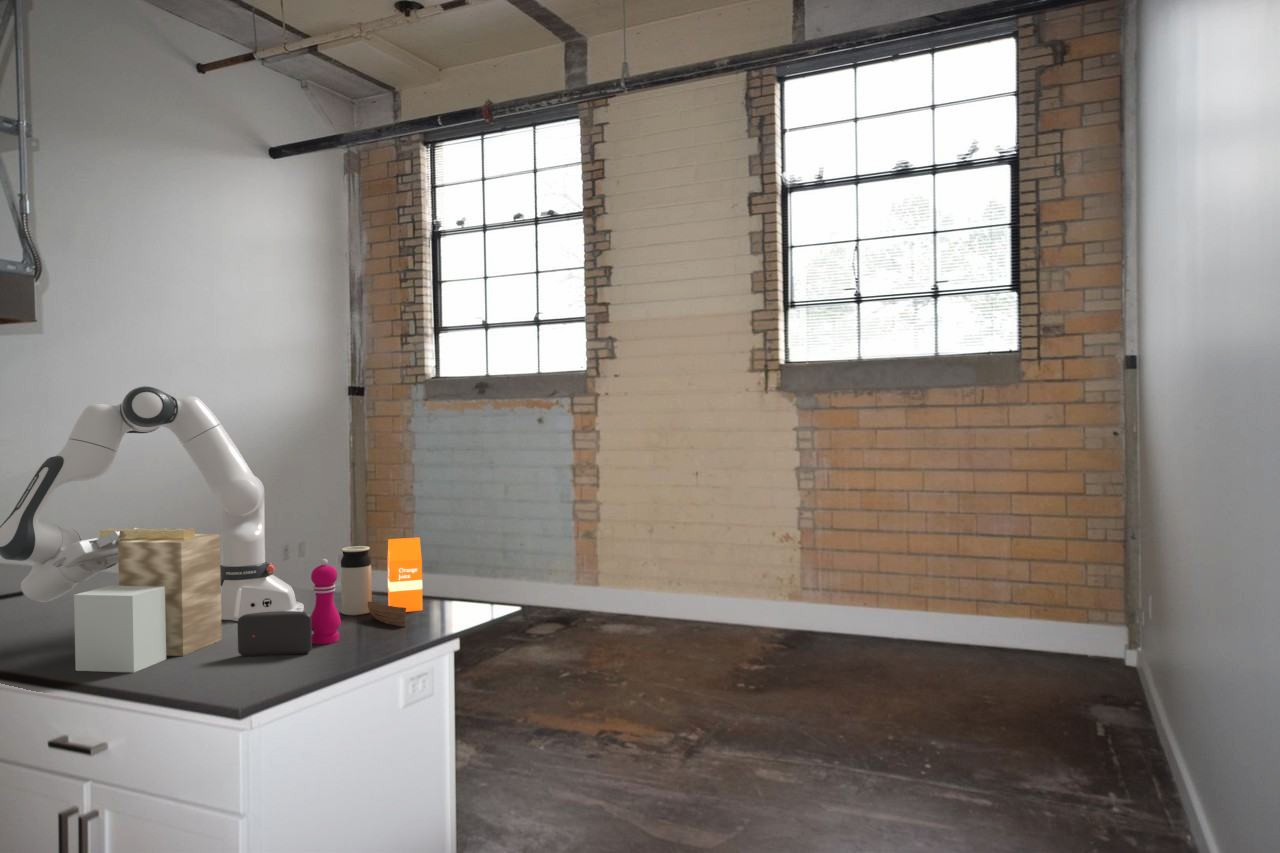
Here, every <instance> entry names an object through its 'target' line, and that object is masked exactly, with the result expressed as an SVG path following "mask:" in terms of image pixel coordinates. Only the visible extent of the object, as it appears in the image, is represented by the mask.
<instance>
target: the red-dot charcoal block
mask: <svg viewBox="0 0 1280 853" xmlns="http://www.w3.org/2000/svg"><path fill="white" fill-rule="evenodd" d="M236 622H237V653H238V654H240V655H241V656H243V657H260V656H261V657H262V656H287V655H306V654H308V653H310V652H311V651H312V649H313V643H312V634H313V631H312V625H311V615H310V614H309V613H308V612H307V611H306V612H304V611H303V612H298V611H275V612H261V613H252V614H246V615H243V616H241V617H240V618H239V619H238V621H236Z"/></svg>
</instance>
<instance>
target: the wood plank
mask: <svg viewBox="0 0 1280 853" xmlns="http://www.w3.org/2000/svg"><path fill="white" fill-rule="evenodd" d="M368 609H369V611H370V612H369V614H370V615H372V616H373V619H375V620H377V621H379V622H382V623H385V624H388V625H392V626H397V627H401V628H402V627H403V628H406V620H405V619H406V614H407V612H406V608H405V607H394V606H388V604H387V605H385V604H381V603H377V602H374V601H372V602H368Z"/></svg>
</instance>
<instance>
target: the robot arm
mask: <svg viewBox="0 0 1280 853" xmlns="http://www.w3.org/2000/svg"><path fill="white" fill-rule="evenodd" d="M161 427H163V428H166V429H168V430H169V431H171V432H172V433H173V434H174V435H175V436H176V438H177V439H178V441H179V442H180V444H181V445H182V447H183V448H184V451H186V452H187V455H188V456H189V457H190V459H191V460H192V462H193V463H194V465H195V466H196V467H197V469H198V470H199V473H200V474H201V476H202V477H203V479H204V481H205V483H206V484H207V486H208V488H209V489H210V490H211V492H212V494H213V496H214V497H215V499H216V500H217V502H218V504H219V505H220V507H221V520H220V524H221V526H220V578H221V620H223V621H235V622H238V619H239V618H240V617H241V616H243V615H246V614H252V613H261V612H275V611H298V612H304V611H305V606H304V603H303V602H299V601H297V600H296V595H295V594H296V593H295V592H294V588H292V586H291V585H290V584H288V583H287V582H285V581H283V580H282V579H280V578H279V577H277V576H276V575H274V571H275V566H274V565H273V564H272V562H267V561H266V544H265V541H266V539H265V536H266V534H265V533H266V532H265V529H266V528H265V523H266V522H265V520H266V519H265V510H266V508H265V506H266V505H265V487H264V484H263V482H262V481H261V480H260V478H258V477H257V476H256V475H254V473H253V471H252V469H250V467H249V465H248V464H247V462H246V461H245V459H244V457H243V456H242V454H241V452H240V451H239V449H238V447H237V446H236V444H235V443H234V441H233V439H232V438H231V437H230V435H229V434H228V432H227V431H226V429H225V428H224V426H223V425H222V424H221V422H220V420H219V419H218V418H217V416H216V414H214V413H213V411H212V410H211V409H210V407H208V406H207V405H206V403H204V401H202V399H201V398H199V397H197V396H193V395H185V396H182V397H179V398H176V397H174V396H172V395H171V394H168V393H166V392H164V391H163V390H161V389H159V388H156V387H152V386H145V385H144V386H139V387H135V388H134V389H131V390H130V391H129V392H128V393H127V394H126V395H125V396H124V397H123V399H122V402H121V403H120V404H119V403H118V404H117V405H110V404H106V403H93V404H92V403H91V404H90V405H87V407H85V408H84V410H83V411H82V412H81V414H80V415H79V417H78V418H77V420H76V422H75V424H74V425H73V428H72V430H71V431H70V434H69V436H68V439H67V441H66V443H65V444H64V446H63V447H62V449H61V450H60V451H59V452H58V453H57V454H56V455H55V456H50V457H48V458H47V459H46V460H45V461H43V462H42V464H41V465H40V466H39V468H38V470H36V472H35V474H34V475H33V477H32V479H31V480H30V482H29V484H28V485H27V487H26V488H25V490H24V491H23V493H22V495H21V496H20V499H19V500H18V501H17V503H16V505H15V507H13V510H12V511H11V513H10V514H9V515H8V517H6V519H5V520H4V522H3V523H2V524H1V525H0V557H2V559H5V560H6V561H7V560H8V561H20V562H29V563H33V565H32V568H31V570H30V572H29V573H28V575H27V576H26V577H25V578H23V580H22V581H21V583H20V590H21V591H22V593H23V594H24V595H25V596H26V598H28V599H30V600H33V601H36V602H39V603H48V602H50V601H53V600H55V599H58V598H60V597H62V596H63V595H65V594H67V593H68V592H71V591H72V590H73V589H75V587H76V586H77V585H78V584H81V583H83V582H86V581H88V580H89V579H91V578H92V577H94V576H96V575H98V574H99V573H101V572H102V571H105V570H107V569H109V568H112V567H114V566H116V565H118V542H121V541H126V540H132V539H119V538H121V537H122V534H121V532H120V531H113V532H112V533H110V534H108V535H106V536H103V537H100V536H99V537H94V538H88V539H84V540H82V539H81V537H80V535H79V533H78V532H77V530H75V529H72V528H69V527H64V526H60V525H55V524H50V523H46V522H41V521H39V517H40V516H41V514H42V512H43V510H44V509H45V507H46V506H47V504H48V502H49V501H50V499H51V497H52V495H53V493H55V491H56V490H57V489H58V488H60V487H61V486H63V485H65V484H68V483H74V482H82V481H83V482H84V481H89V480H93V479H96V478H99V477H101V476H103V475H104V474H105V473H107V472H108V471H109V469H110V468H111V467H112V465H113V462H114V460H115V457H116V455H117V452H118V449H119V447H120V444H121V441H122V439H123V438H124V436H125V434H148V433H152V432H154V431H157V430H158V429H159V428H161ZM134 528H137V527H134Z"/></svg>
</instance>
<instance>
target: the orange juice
mask: <svg viewBox="0 0 1280 853" xmlns="http://www.w3.org/2000/svg"><path fill="white" fill-rule="evenodd" d="M422 559H423V558H422V549H421V537H408V538H407V537H405V538H403V537H402V538H389V539H388V540H387V600H388V603H387V606H394V607H405V608H406V613H407V612H408V613H409V612H418V611H423V560H422Z"/></svg>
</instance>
